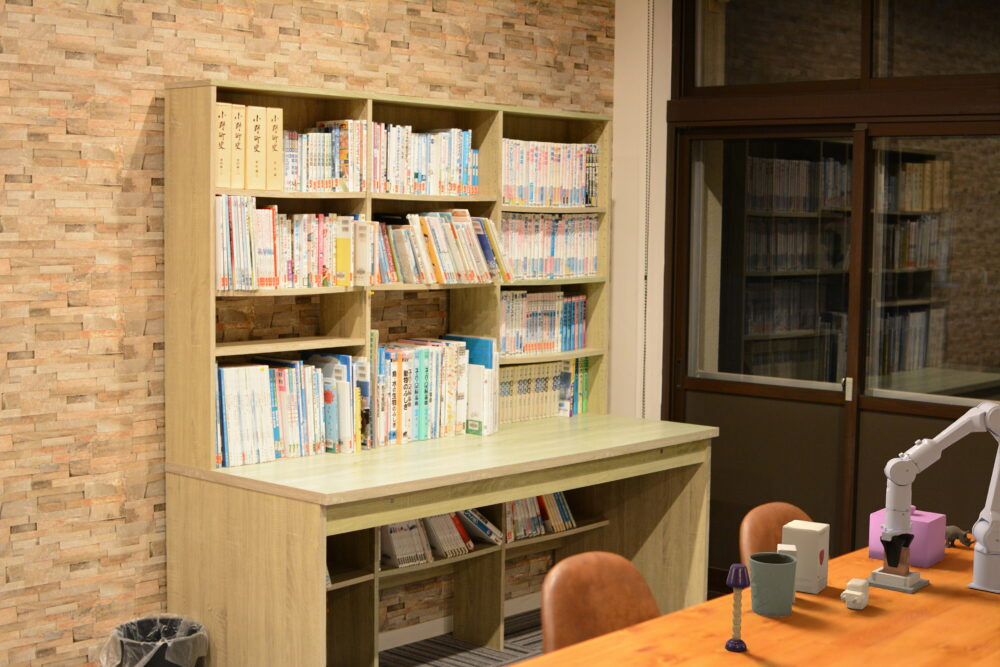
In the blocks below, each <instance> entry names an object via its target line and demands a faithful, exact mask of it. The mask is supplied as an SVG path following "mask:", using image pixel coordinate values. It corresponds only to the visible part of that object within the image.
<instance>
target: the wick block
mask: <svg viewBox="0 0 1000 667" xmlns="http://www.w3.org/2000/svg"><path fill="white" fill-rule="evenodd" d="M882 566H883V572H885V573H890V574H896V575H901V576H905V575H907V574H908V573H909V571H910V566H911V565H910V548H905V547H902V550H901V553H900V559H899V564H898V567H897V568H895V567H889V566H888V563H887V558H886V553H885V550H884V561H883V564H882Z"/></svg>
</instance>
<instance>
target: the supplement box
mask: <svg viewBox="0 0 1000 667" xmlns="http://www.w3.org/2000/svg"><path fill="white" fill-rule="evenodd" d="M830 529H831V528H830V524H828V523H822V522H814V521H808V520H807V521H806V520H801V519H799V520H798V519H794V520H792V521H790V522H787V523H786V524H785V525H783V526H782V532H781V533H782V535H781V537H782V538H781V544H785V545H795V546H796V550H797V563H796V585H795V592H801V593H807V594H813V595H817V594H818V593H820V592H822V591H823V590H825V588H826V587H827V586H828V572H829V552H830V550H829V546H830V545H829V544H830Z"/></svg>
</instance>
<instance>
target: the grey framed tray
mask: <svg viewBox="0 0 1000 667" xmlns="http://www.w3.org/2000/svg"><path fill="white" fill-rule="evenodd" d="M870 573H871V574H870V576H868V577H866V578H864V580H867V581H868V582H869V587H875V588H879V589H885V590H891V591H894V592H900V593H906V594H909V595H911V594H913V593H915V592H917V591H919V590H920V589H922V588H924V587H925V586H927V585H929V584H930V579H928V578H927V579H926V578H921V572H920V571H919V572H918V571H914V570H909V573H908V574H907V575H905V576H901V575H896V574H890V573H885V572H883V565H882V566H881V567H879V568H877V569H875V570H873V571H871V572H870Z"/></svg>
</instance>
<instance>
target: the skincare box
mask: <svg viewBox="0 0 1000 667" xmlns="http://www.w3.org/2000/svg"><path fill="white" fill-rule="evenodd" d="M776 549H777V550H776V553H782V554H787V555H790V556H793V557H795V558H796V559H797V550H796V546H795V545H785V544H782V543H777V548H776ZM794 578H795V580H794V591H793V600H792V604H795V602H796V591H795V585H796V571H795V577H794Z"/></svg>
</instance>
